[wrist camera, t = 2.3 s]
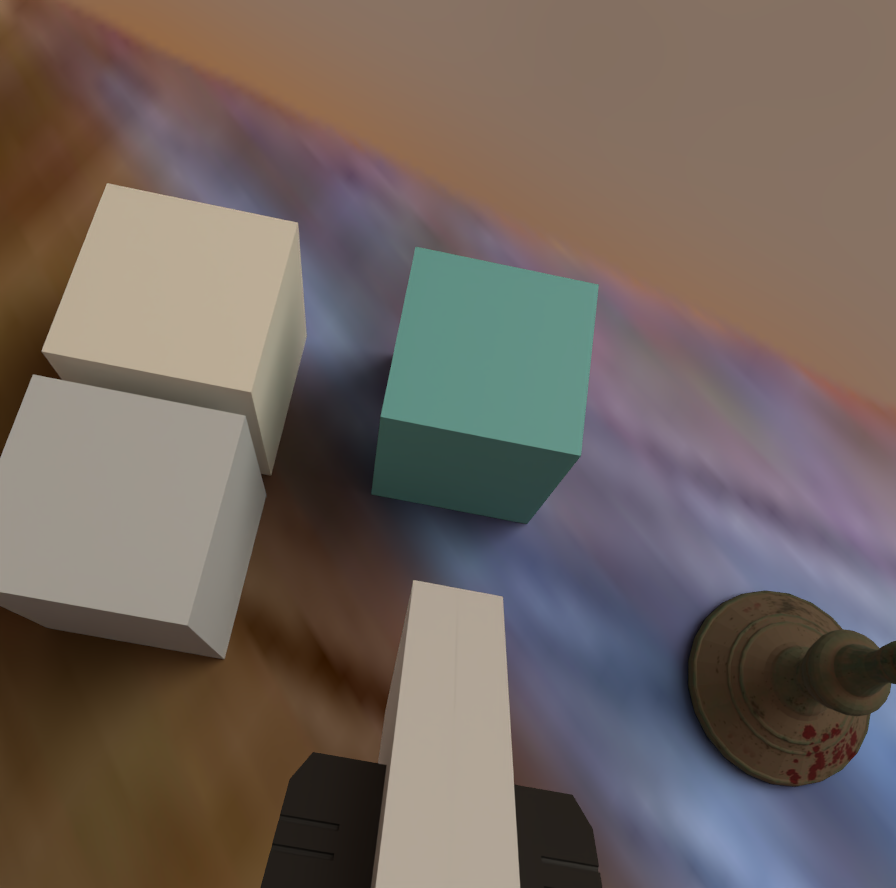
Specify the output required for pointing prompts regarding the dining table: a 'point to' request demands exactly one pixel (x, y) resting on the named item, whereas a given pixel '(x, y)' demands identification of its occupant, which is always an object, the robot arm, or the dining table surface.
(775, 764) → the candlestick holder
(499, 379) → the teal block
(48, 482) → the grey block
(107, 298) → the cream block
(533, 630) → the dining table surface
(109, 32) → the dining table surface
